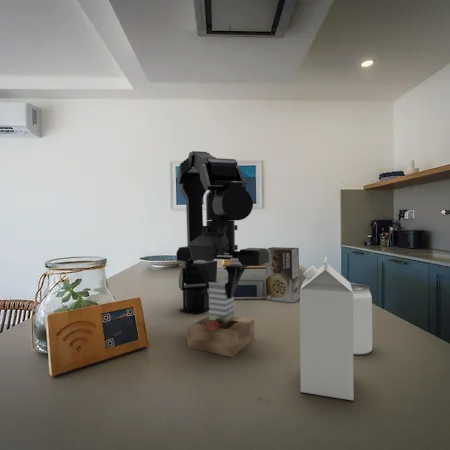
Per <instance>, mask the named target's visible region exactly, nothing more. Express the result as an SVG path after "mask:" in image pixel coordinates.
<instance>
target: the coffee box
mask: <svg viewBox="0 0 450 450" xmlns="http://www.w3.org/2000/svg"><path fill="white" fill-rule="evenodd" d="M265 249H266V250H267V251H268V254H269V262H268V263H265V264H264V266H265V267H264V268H265V300H266V299H267V301H275V302H282V303H283V302H284V303H291V304H294V303H295V302H298V300H300V299H299V298H300V263H299V262H300V261H299V260H300V257H299V255H300V254H299V253H300V252H299V249H300V248H299V247H282V246H281V247H279V246H278V247H277V246H276V247H275V246H272V247H268V248H265Z"/></svg>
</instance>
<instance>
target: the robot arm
mask: <svg viewBox="0 0 450 450" xmlns="http://www.w3.org/2000/svg"><path fill="white" fill-rule="evenodd" d="M176 179H177V184H178V185H179V192H180V193H181V195H182V196H183V197H184V199H185V203H186V204H185V206H186V207H185V210H186V211H185V212H186V213H185V214H186V236H187V239H186V241H187V242H186V243H187V246H179V247H178V249H177V251H176V258H175V259H176V261H177V262H182V263H181V264H182V266H181V268H180V271H179V277H178V288H179V289H180V290H181V291H182V307H181V308H180V309H179V311H180V312H184V313H190V314H196V315H198V314H202V313H204V312H207V311H209V282H210V281H213V280H216V279H218V278H217V277H218V275H217V274H218V272H217V271H218V260H226V261H228V260H230V264H227V265H225V266H224V267H225V268H226V272H227V280H228V298H229V299H231V298H232V297H234V294H235V291H236V290H237V287H238V285H239V283H240V280H241V277H242V275H243V273H244V272H245V270H246V268H247V267H251V266H252V267H254V266H255V267H257V266H258V267H259V266H261V265H265V263H268V262H269V254H268V251H267V250H266V249H267V248H265V247H264V248H263V247H262V248H261V247H247V248H242V249H239V250H238V247H239V245H238V244H235V243H236V238H235V237H236V235H235V234H236V232H235V231H238V224H237V225H236V224H235V221H242V220H245V219H246V218H247V217H249V215H250V214H251V213H252V211H253V208H254V201H253V199H252V196H251V194H250V193H249V192H248V190H246V189H247V185H246V184H247V180H246V178H245V177H244V175H243V173H242V170H241V167H240V165H239V164H238V161H237V160H236V158H222V157H221V158H218V157H215V156H213V155H211V154H210V153H209V152H207V151H200V150H199V151H197V150H196V151H195V150H193V151H189V153H188V157H187V158H186V159H184V160H183V161H182V162H181V163H180V164H179V166H178V171H177V178H176ZM207 191H208V193H207ZM206 193H207V194H206ZM205 194H206V196H205ZM204 196H205V197H206V198H205V207H206V208H205V209H206V212H205V214H206V215H205V216H206V217H205V218H206V225H204V218H203V217H204V216H203V215H204V213H203V198H204Z"/></svg>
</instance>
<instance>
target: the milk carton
mask: <svg viewBox="0 0 450 450" xmlns="http://www.w3.org/2000/svg"><path fill="white" fill-rule="evenodd" d="M302 275H303V276H304V277H305V279H304V280H303V282H302V284H301V286H300V287H299V297H300V299H299V346H300V347H299V350H300V351H299V353H300V354H299V357H300V358H299V362H300V364H299V367H300V368H299V371H300V393H304V394H311V395H317V396H324V397H329V398H330V397H331V398H336V399H341V400H349V401H354V400H355V399H354V389H355V388H354V354H353V291H352V288H351V284H352V283H351V282H350V281H349V280H348V279H346V278H345V277H344V276H343V275H342V274H341V273H339V272H338V271H337V270H336V269H335V268H334V267H332V266H331V265H330V264H329V263H328V256H325V258H324V264H323V265H321V266H320V267H319V268H318V269H317V267H316V266H315V265H312V266H310V267H309V268H307V269H306V270H305V271H304V272H303V273H302Z"/></svg>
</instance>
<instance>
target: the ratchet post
mask: <svg viewBox="0 0 450 450" xmlns="http://www.w3.org/2000/svg"><path fill="white" fill-rule="evenodd" d="M208 294H209V309H208V316H209V320H210V321H218V322H219V323H221V324H227V323H228V322H230V321H231V320H233V319H234V317H235V307H234V306H235V301H234V300H235V299H234V298H235V297H234V296H233V297H232V298H231V299H229V298H228V279H224V278H223V279H222V278H221V279H220V278H216V280H213V281H210V282H209V290H208Z"/></svg>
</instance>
